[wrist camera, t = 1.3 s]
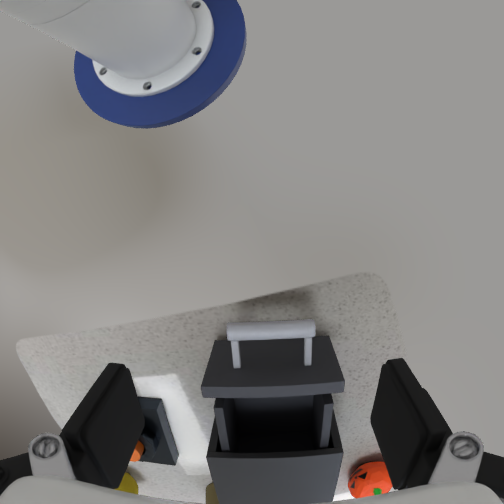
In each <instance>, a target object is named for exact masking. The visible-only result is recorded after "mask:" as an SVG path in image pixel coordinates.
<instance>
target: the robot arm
mask: <svg viewBox="0 0 504 504" xmlns="http://www.w3.org/2000/svg"><path fill="white" fill-rule="evenodd" d="M197 7H198V8H197ZM0 12H2V13H4V14H7V15H9V16H11V17H13V18H15V19H17V20H19V21H21V22H23V23H25V24H27V25H29V26H31V27H33V28H35V29H37V30H39V31H41V32H43V33H45V34H47V35H48V36H50V37H53V38H54V39H56V40H58V41H60V42H62V43H63V44H65V45H68V46H69V47H71V48H73V49H74V50H76V51H78V52H80V53H82V54H83V55H85V56H87V57H89V58H90V59H92V62H93V66H94V70H95V72H96V74H97V76H98V78H99V79H100V80H101V81H102V82H103V83H104V85H106V86H107V87H109V88H110V89H112V90H113V91H115V92H118V93H120V94H123V95H127V96H133V97H144V96H151V95H156V94H159V93H162V92H165V91H167V90H169V89H171V88H173V87H175V86H177V85H179V84H180V83H182V82H183V81H185V80H186V79H187V78H189V77H190V76H191V75H192V74H193V73H194V72H195V71H196V70H197V69H198V68H199V66H200V65H201V64H202V62H203V61H204V60H205V58H206V56H207V54H208V52H209V51H210V48H211V45H212V42H213V38H214V23H213V18H212V16H211V13H210V10H209V9H208V7H207V5H206V4H205V2H204V1H202V0H0ZM198 52H201V53H200V54H199V55H196V54H197V53H198ZM150 86H151V88H150V89H148V88H149V87H150ZM144 425H145V419H144V415H143V412H142V409H141V406H140V403H139V400H138V397H137V393H136V390H135V387H134V383H133V380H132V376H131V373H130V370H129V369H128V368H126V367H125V365H124V364H117V363H109V364H108V365H107V366H106V368H105V369H104V371H103V372H102V373H101V375H100V376H99V377H98V379H97V380H96V382H95V383H94V384H93V386H92V387H91V389H90V390H89V392H88V393H87V394H86V396H85V397H84V399H83V400H82V402H81V403H80V404H79V406H78V407H77V409H76V410H75V412H74V413H73V415H72V416H71V417H70V419H69V420H68V422H67V423H66V425H65V426H64V428H63V429H62V432H61V434H60V435H59V436H58V435H56V434H54V433H42V434H40V435H37V436H36V437H34V438H33V439H32V440H31V442H30V444H29V446H28V453H25V454H21V455H18V456H15V457H11V458H7V459H4V460H0V504H201V503H191V502H182V501H174V500H167V499H161V498H154V497H149V496H143V495H138V494H133V493H128V492H124V491H119V490H114V489H117V488H119V486H120V483H121V481H122V478H123V476H124V474H125V471H126V469H127V466H128V464H129V461H130V459H131V457H132V454H133V452H134V449H135V447H136V445H137V442H138V440H139V438H140V435H141V433H142V431H143V428H144ZM371 425H372V428H373V431H374V433H375V436H376V439H377V442H378V445H379V448H380V450H381V453H382V456H383V459H384V462H385V465H386V468H387V471H388V474H389V477H390V480H391V483H392V486H393V488H394V489H395V490H396V489H398V491H394V492H389V493H384V494H379V495H373V496H368V497H362V498H355V499H349V500H342V501H334V502H326V503H316V504H504V457H501V456H497V455H494V454H490V453H487V452H483V451H484V446H483V443H482V441H481V439H480V438H479V437H478V436H476V435H475V434H472V433H470V432H464V431H463V432H457V433H454V434H453V433H452V431H451V429H450V428H449V426H448V424H447V423H446V421H445V419H444V418H443V416H442V415H441V413H440V411H439V410H438V408H437V406H436V405H435V403H434V402H433V400H432V398H431V397H430V395H429V394H428V392H427V391H426V390H425V389H424V388H422V387H421V385H420V384H419V382H418V381H417V379H416V378H415V376H414V374H413V373H412V371H411V370H410V368H409V367H408V365H407V363H406V362H405V360H404V359H403V358H399V359H391V360H388V361H387V362H386V364H383V365H382V368H381V373H380V378H379V383H378V388H377V392H376V396H375V401H374V405H373V409H372V413H371Z"/></svg>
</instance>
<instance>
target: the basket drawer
mask: <svg viewBox="0 0 504 504" xmlns="http://www.w3.org/2000/svg"><path fill="white" fill-rule="evenodd" d="M227 339H228V340H215V342H214V345H213V349H212V352H211V355H210V358H209V362H208V365H207V368H206V372H205V375H204V378H203V381H202V385H201V390H202V395H203V397H205V398H216V400H215V405H214V412H215V418H216V423H217V429H218V434H219V439H220V444H221V449H222V452H226V453H272V452H294V451H308V450H319V449H328V444H329V437H330V429H331V421H332V413H333V404H334V403H333V399H332V396H331V393H339V392H344V384H345V380H344V377H343V374H342V371H341V368H340V366H339V363H338V360H337V357H336V354H335V351H334V348H333V346H332V343H331V340H330V337H329V336H317V337H315V320H314V319H303V320H285V321H262V322H230V323H227Z"/></svg>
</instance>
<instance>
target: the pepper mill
mask: <svg viewBox="0 0 504 504" xmlns="http://www.w3.org/2000/svg"><path fill="white" fill-rule="evenodd" d="M206 504H219V501H218V498H217V494H216V491H215V487H214V484H213V483H211V484H209V485H208V486H207V487H206Z"/></svg>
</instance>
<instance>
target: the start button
mask: <svg viewBox="0 0 504 504" xmlns="http://www.w3.org/2000/svg"><path fill="white" fill-rule="evenodd" d="M143 451H144V445H143V444H142V443H141V442H140V441H139V440H138V442H137V445H136V447H135V449H134V452H133V454H132V457H131V459H130V461H138V460H140V458H141V455H142V453H143Z"/></svg>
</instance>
